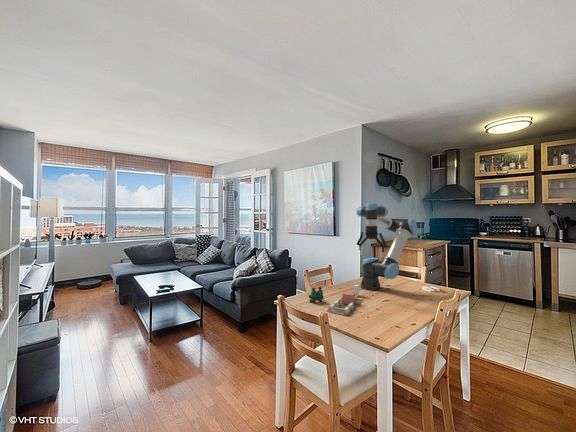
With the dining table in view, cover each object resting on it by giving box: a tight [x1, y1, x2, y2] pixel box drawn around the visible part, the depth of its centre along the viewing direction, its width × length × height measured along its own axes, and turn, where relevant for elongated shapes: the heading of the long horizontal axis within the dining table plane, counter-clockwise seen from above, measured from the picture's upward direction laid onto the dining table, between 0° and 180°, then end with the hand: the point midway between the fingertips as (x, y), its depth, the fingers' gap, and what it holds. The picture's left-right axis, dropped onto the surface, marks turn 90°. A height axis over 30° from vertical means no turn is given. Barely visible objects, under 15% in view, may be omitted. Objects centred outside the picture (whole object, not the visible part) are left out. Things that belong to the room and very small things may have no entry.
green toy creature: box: [308, 286, 324, 304], centre depth 170 cm, size 9×11×10 cm
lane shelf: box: [326, 297, 364, 317], centre depth 162 cm, size 30×14×4 cm, turn 148°
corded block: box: [341, 284, 360, 304], centre depth 172 cm, size 22×6×8 cm, turn 148°
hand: (371, 256), depth 179 cm, fingers open, 13 cm apart
